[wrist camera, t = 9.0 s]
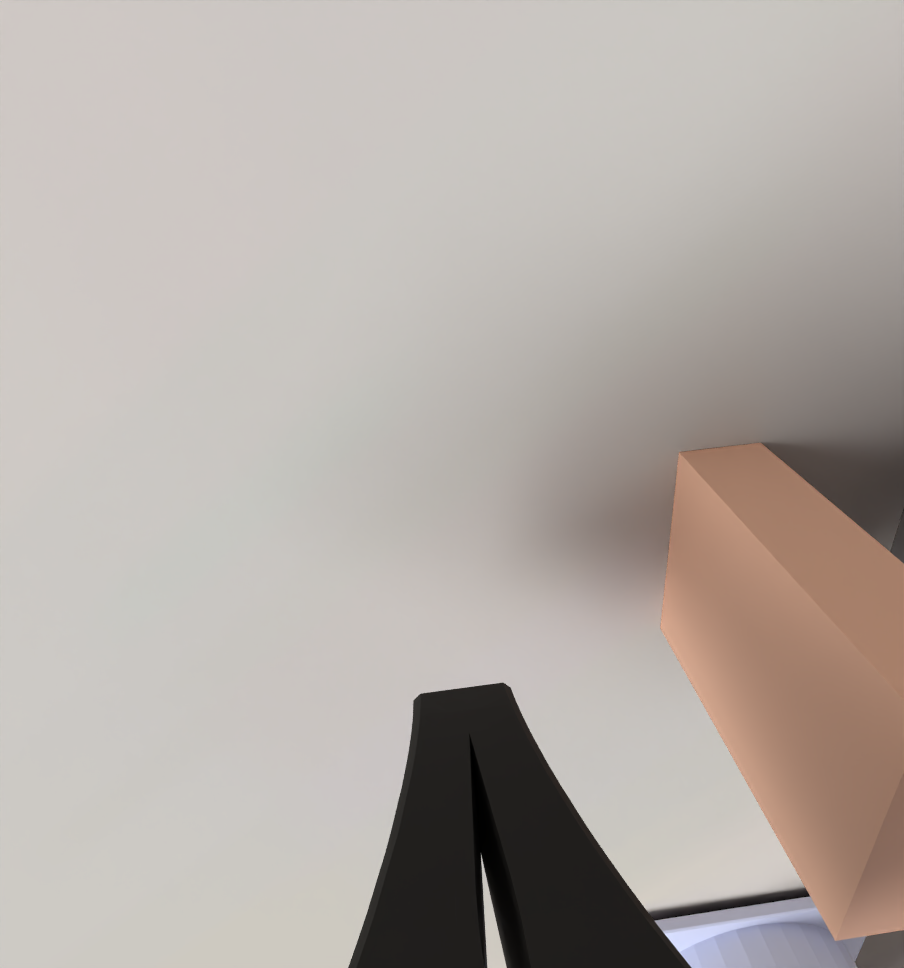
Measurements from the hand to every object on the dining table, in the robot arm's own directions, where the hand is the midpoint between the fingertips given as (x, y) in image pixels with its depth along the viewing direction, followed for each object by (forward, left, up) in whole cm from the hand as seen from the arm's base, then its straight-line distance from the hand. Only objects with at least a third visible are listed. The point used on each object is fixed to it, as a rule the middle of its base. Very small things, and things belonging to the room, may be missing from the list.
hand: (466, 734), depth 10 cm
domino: (0, -6, -4) cm, 7 cm away
